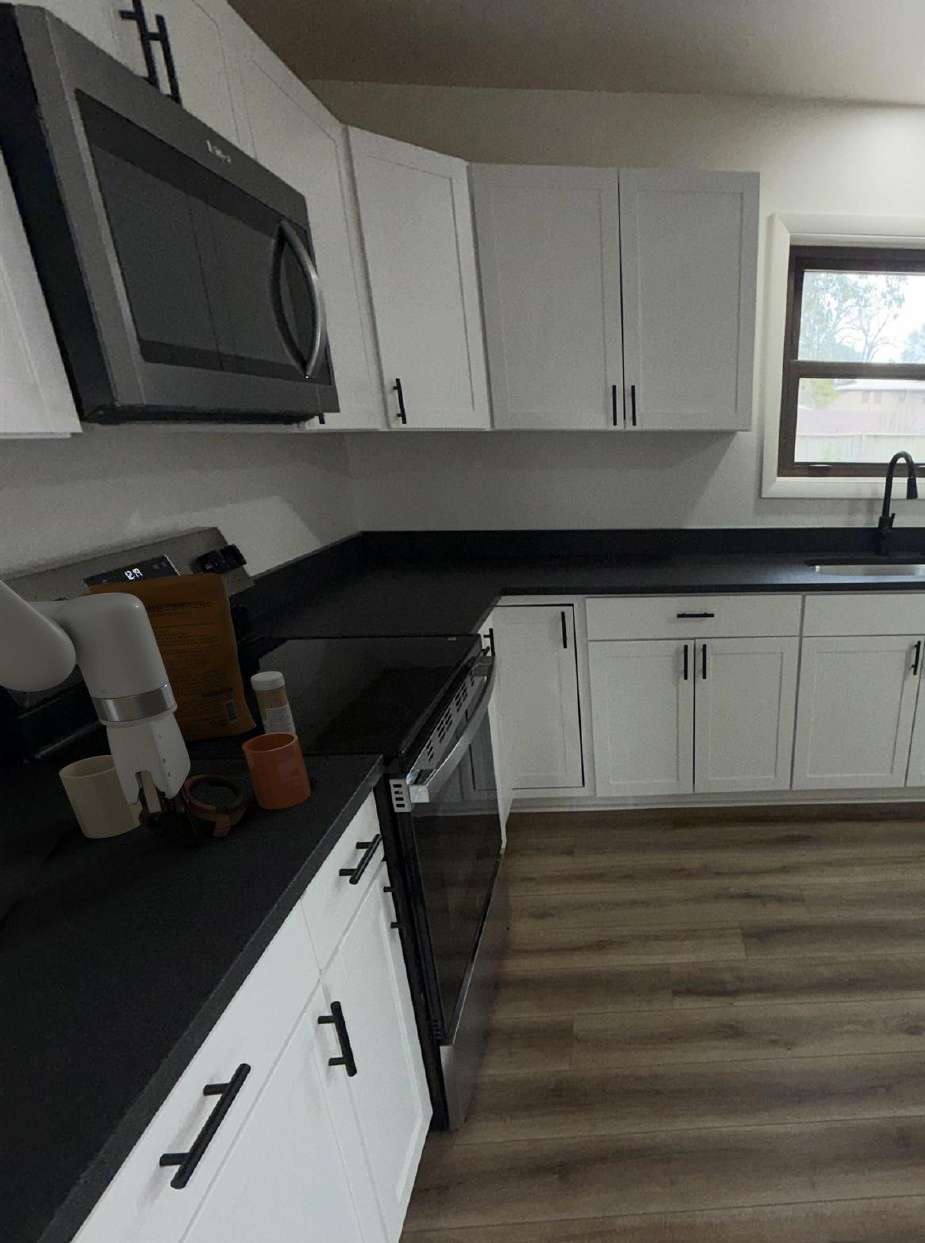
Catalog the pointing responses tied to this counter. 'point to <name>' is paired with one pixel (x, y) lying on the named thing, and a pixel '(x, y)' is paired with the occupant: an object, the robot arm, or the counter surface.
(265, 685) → the sprinkles bottle
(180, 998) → the counter surface
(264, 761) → the terracotta cup
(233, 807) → the reddish-brown ring-shaped piece
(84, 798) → the cream cup
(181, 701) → the pancake mix bag
